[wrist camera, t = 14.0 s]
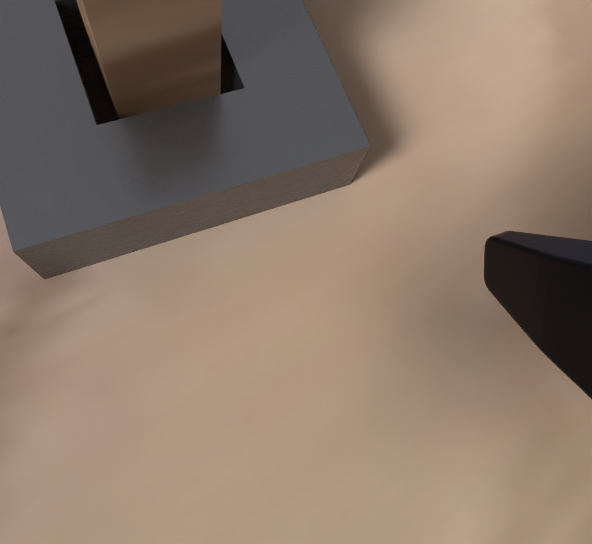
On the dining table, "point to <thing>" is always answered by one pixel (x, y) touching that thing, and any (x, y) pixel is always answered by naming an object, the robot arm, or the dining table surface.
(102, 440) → the dining table surface
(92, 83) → the dining table surface
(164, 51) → the keyed plug
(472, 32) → the dining table surface
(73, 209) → the hub block
